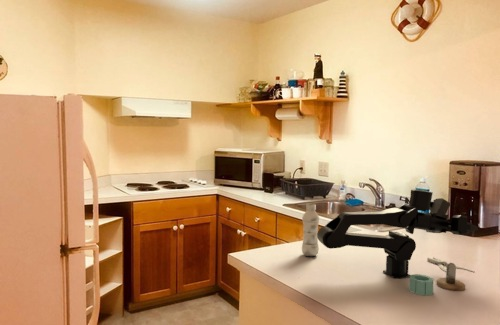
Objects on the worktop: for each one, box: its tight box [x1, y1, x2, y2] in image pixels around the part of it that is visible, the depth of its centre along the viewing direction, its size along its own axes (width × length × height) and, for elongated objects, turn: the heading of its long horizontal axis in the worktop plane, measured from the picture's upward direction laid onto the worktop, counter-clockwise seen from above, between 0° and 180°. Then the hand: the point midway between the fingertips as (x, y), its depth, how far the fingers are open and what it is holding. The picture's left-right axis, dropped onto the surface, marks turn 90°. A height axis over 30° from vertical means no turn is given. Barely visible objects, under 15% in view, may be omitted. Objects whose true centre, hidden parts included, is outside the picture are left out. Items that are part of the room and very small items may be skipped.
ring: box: [408, 273, 434, 296], centre depth 118 cm, size 6×6×4 cm
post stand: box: [435, 262, 466, 292], centre depth 123 cm, size 8×8×7 cm
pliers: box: [426, 256, 476, 273], centre depth 141 cm, size 10×2×15 cm
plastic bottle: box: [301, 203, 320, 257], centre depth 152 cm, size 6×7×20 cm
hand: (467, 227), depth 135 cm, fingers open, 9 cm apart
